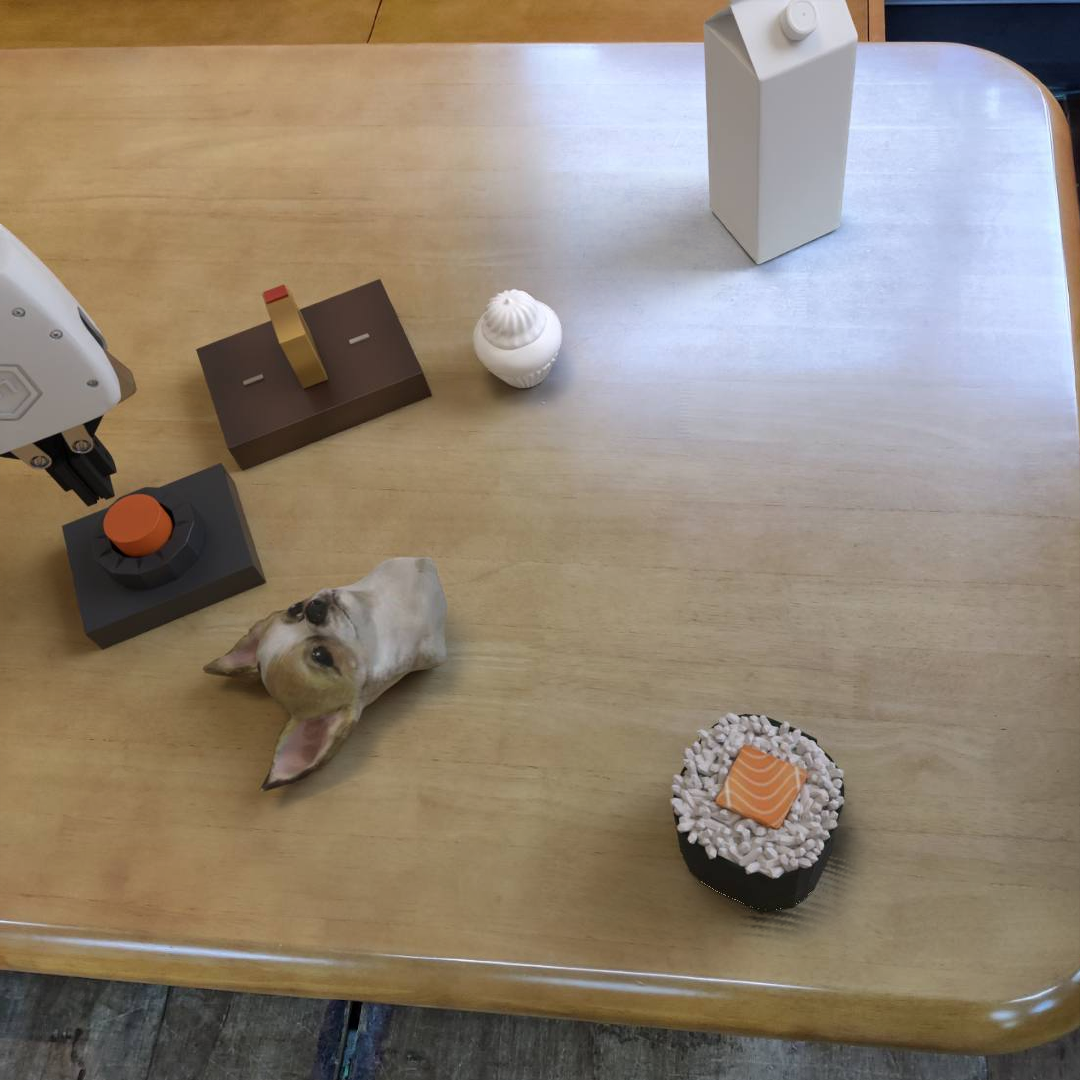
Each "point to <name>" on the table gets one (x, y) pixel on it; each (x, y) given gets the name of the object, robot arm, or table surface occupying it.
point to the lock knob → (294, 336)
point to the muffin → (518, 338)
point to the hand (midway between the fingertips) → (97, 483)
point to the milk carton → (778, 119)
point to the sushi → (757, 810)
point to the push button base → (164, 560)
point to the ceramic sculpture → (340, 657)
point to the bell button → (138, 525)
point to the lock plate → (327, 407)
